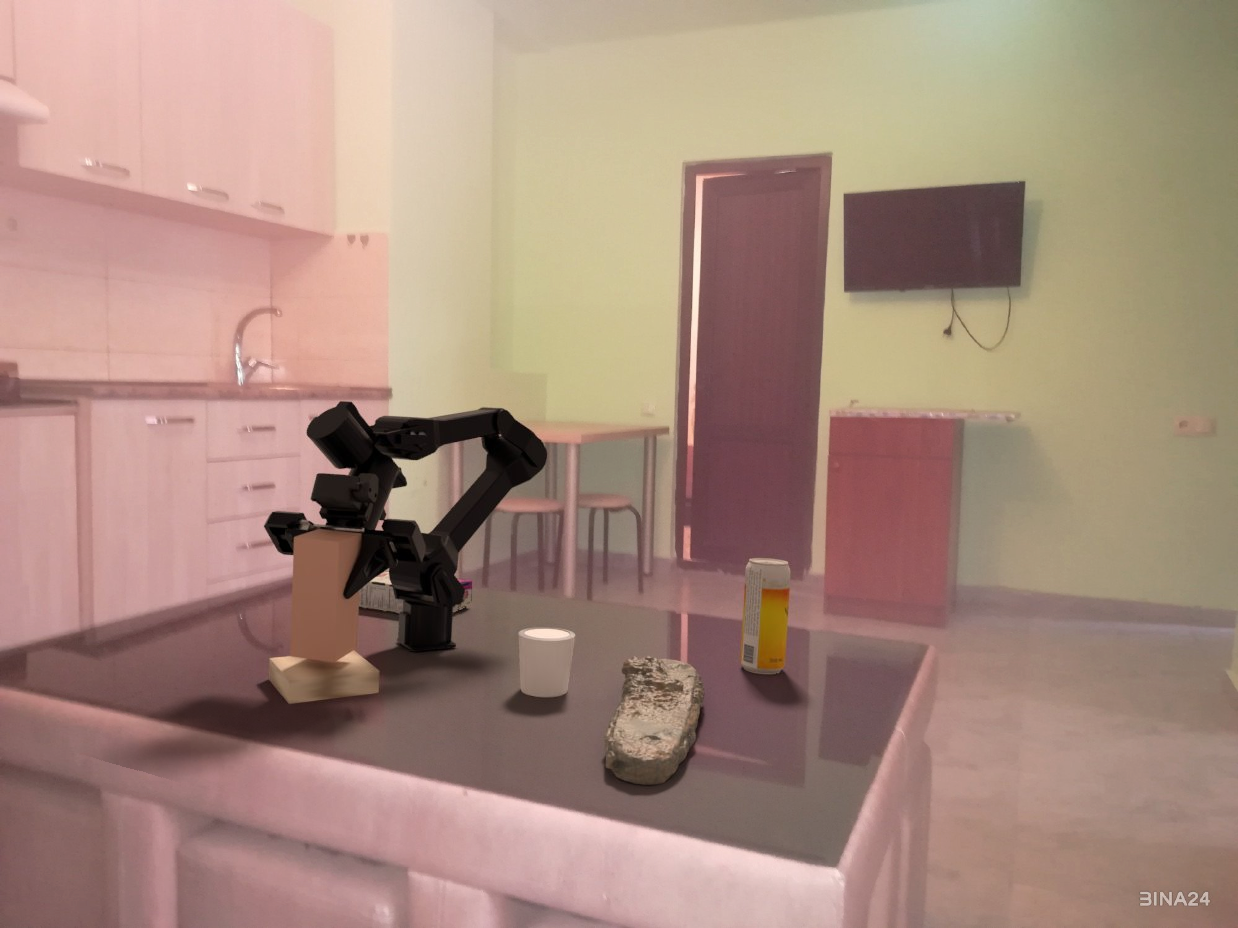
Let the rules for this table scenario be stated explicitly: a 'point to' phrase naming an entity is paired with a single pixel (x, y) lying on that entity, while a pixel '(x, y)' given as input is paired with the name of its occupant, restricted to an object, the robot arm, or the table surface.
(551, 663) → the white cup
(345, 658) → the birch block
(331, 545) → the terracotta post
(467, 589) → the candy bar box
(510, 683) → the table surface
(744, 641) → the beer can
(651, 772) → the elongated rock
